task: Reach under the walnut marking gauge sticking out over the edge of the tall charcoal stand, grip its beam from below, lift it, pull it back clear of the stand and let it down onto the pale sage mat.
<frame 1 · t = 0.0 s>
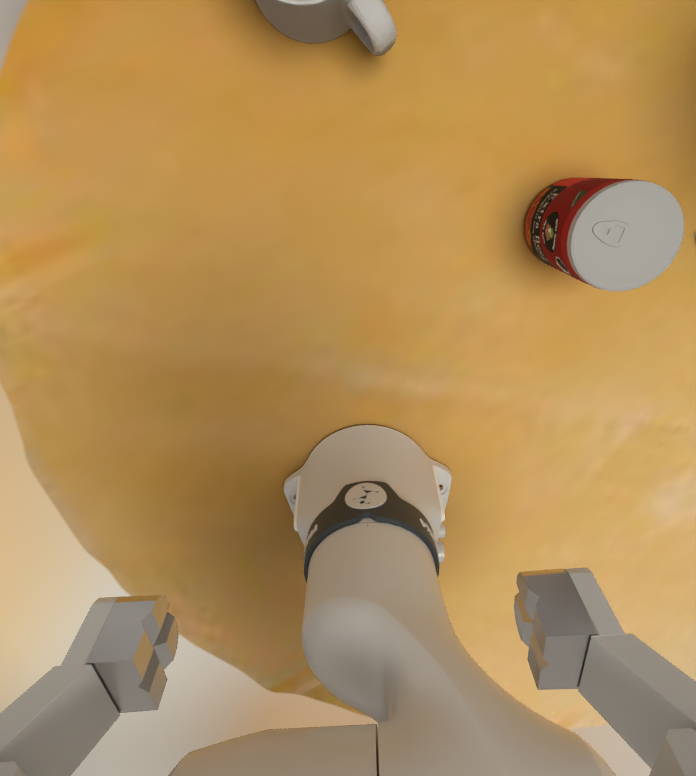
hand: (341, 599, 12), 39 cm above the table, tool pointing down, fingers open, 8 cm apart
canned food: (565, 222, 45), on the table
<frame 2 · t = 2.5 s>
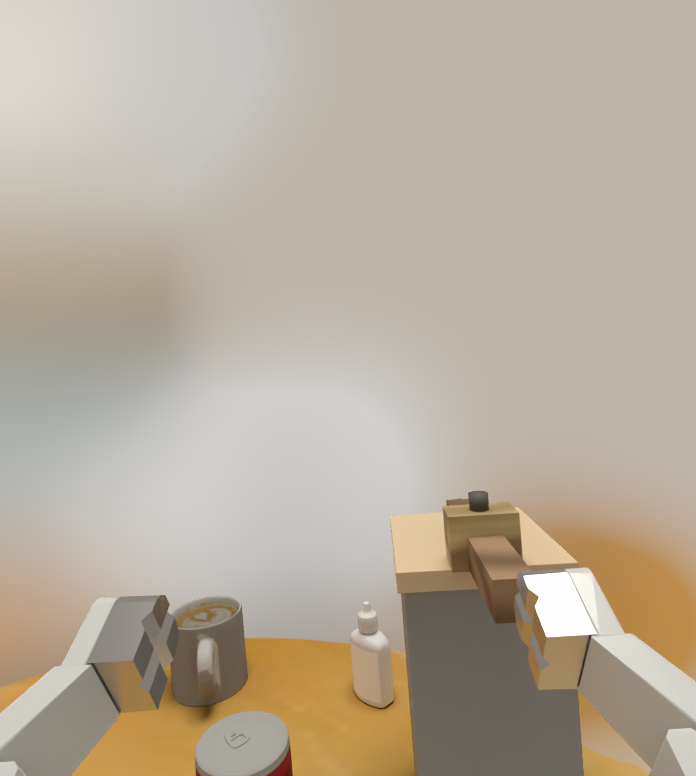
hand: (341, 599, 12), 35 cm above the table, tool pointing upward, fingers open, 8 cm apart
eye dropper bottle: (373, 698, 63), on the table
marking gauge: (483, 562, 37), point 26 cm above the table, touching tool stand
coffee mug: (208, 691, 67), on the table
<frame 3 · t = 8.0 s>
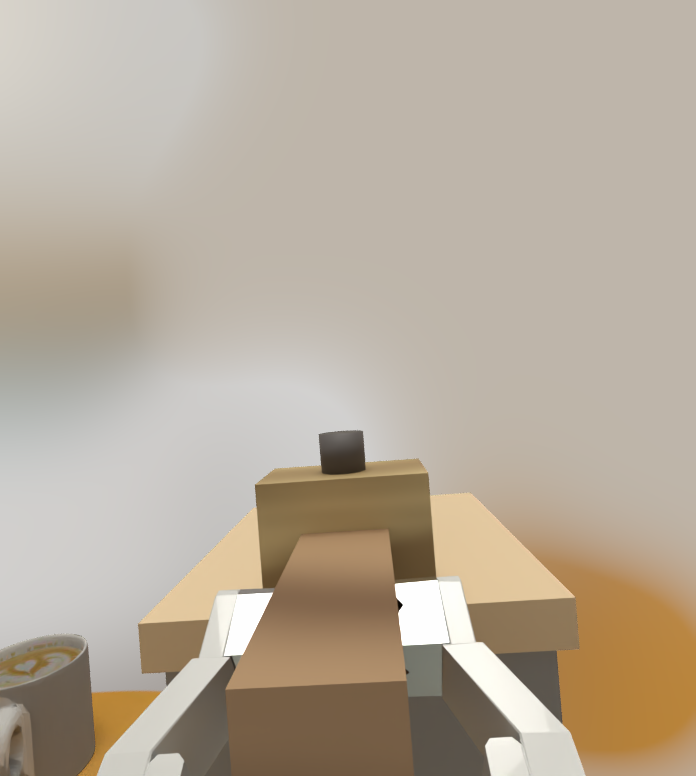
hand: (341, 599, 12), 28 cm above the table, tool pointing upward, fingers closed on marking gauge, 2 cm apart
marking gauge: (353, 596, 16), point 26 cm above the table, touching gripper, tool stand
when the fingers open (19 cm above the table, at t = 15.6 s): marking gauge drops 17 cm, resting on sage mat.
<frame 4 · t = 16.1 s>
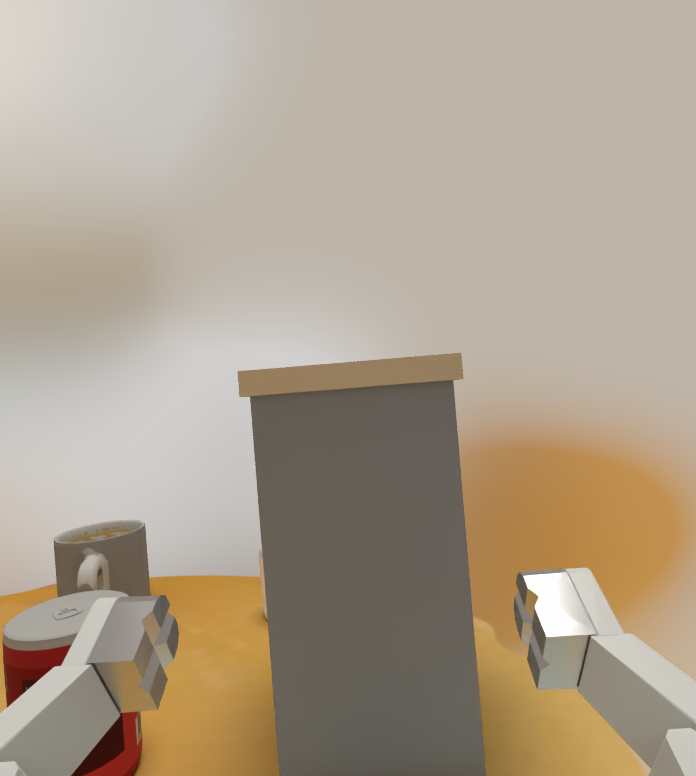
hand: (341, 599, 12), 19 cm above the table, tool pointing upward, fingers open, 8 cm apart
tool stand: (381, 726, 36), on the table
coffee mug: (101, 620, 59), on the table
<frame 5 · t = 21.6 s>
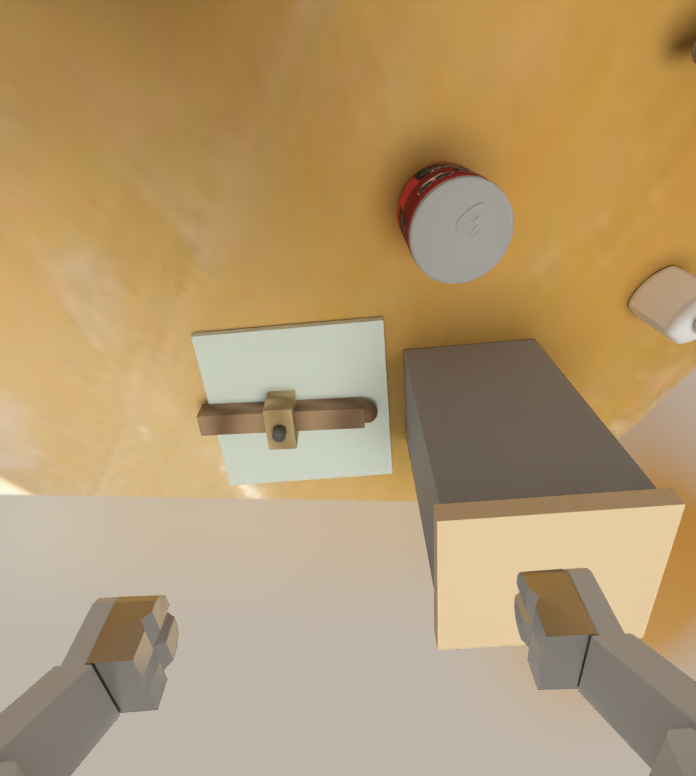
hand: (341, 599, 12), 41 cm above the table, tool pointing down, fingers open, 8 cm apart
eye dropper bottle: (653, 290, 51), on the table
canned food: (437, 207, 47), on the table
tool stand: (467, 392, 56), on the table
marking gauge: (283, 410, 56), point 1 cm above the table, touching sage mat
sage mat: (300, 406, 57), on the table
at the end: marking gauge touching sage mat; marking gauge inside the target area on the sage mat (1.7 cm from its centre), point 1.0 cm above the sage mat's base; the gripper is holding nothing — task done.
